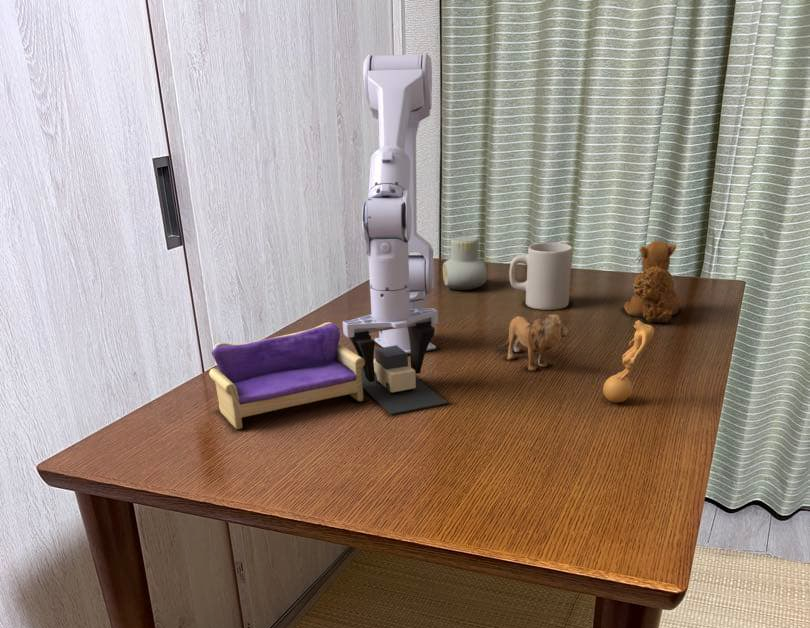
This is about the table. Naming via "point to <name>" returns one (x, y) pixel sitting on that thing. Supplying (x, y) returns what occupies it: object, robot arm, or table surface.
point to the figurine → (627, 365)
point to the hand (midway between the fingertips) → (393, 375)
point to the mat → (402, 397)
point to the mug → (545, 275)
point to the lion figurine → (535, 337)
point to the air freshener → (464, 265)
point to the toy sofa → (284, 372)
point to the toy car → (393, 369)
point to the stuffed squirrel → (654, 285)
